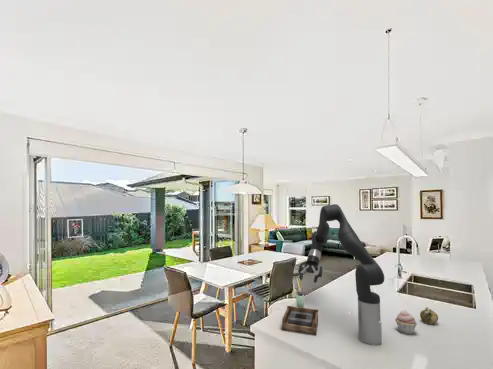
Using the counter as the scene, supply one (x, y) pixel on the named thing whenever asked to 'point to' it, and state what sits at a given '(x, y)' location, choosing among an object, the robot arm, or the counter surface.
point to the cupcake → (405, 322)
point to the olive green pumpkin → (429, 316)
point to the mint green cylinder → (300, 299)
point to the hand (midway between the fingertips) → (307, 280)
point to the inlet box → (300, 320)
